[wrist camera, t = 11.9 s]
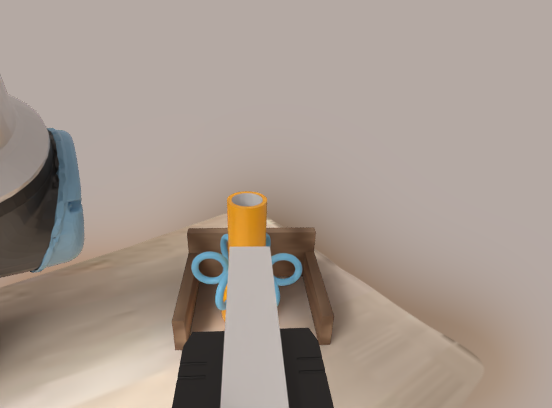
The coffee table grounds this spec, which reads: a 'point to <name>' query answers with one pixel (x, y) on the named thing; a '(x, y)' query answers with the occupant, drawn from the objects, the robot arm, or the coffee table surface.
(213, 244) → the pocket
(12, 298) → the coffee table surface
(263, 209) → the cylinder
